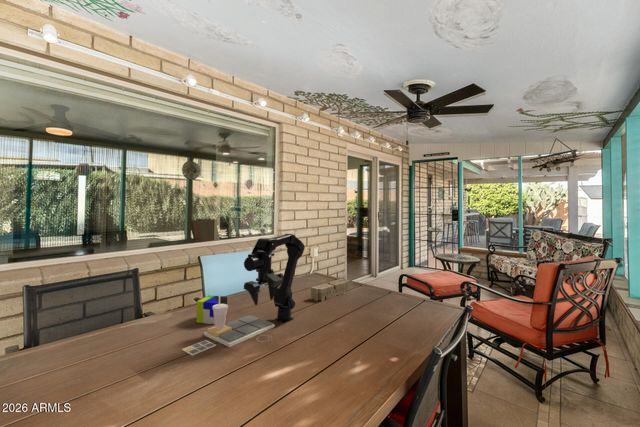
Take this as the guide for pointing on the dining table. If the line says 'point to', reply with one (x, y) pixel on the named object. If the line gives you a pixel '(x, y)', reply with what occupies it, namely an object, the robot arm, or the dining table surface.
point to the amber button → (218, 331)
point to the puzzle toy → (208, 308)
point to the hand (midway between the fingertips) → (264, 302)
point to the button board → (242, 330)
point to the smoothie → (220, 315)
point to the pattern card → (198, 347)
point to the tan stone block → (329, 289)
